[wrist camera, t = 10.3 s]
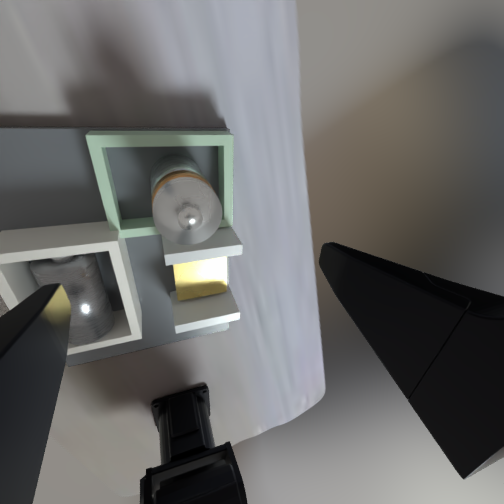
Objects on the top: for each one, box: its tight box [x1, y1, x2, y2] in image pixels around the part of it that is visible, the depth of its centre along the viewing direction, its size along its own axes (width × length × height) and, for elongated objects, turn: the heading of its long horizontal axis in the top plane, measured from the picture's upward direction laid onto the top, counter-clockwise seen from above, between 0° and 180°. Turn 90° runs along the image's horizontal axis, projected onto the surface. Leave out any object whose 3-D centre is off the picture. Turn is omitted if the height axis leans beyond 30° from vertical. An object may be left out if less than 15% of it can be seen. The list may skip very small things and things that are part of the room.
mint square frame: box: [0, 127, 242, 367], centre depth 19 cm, size 19×14×5 cm
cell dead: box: [30, 253, 115, 345], centre depth 18 cm, size 6×3×3 cm, turn 177°
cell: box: [150, 154, 222, 245], centre depth 16 cm, size 3×3×6 cm
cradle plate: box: [173, 257, 227, 301], centre depth 21 cm, size 5×4×1 cm
